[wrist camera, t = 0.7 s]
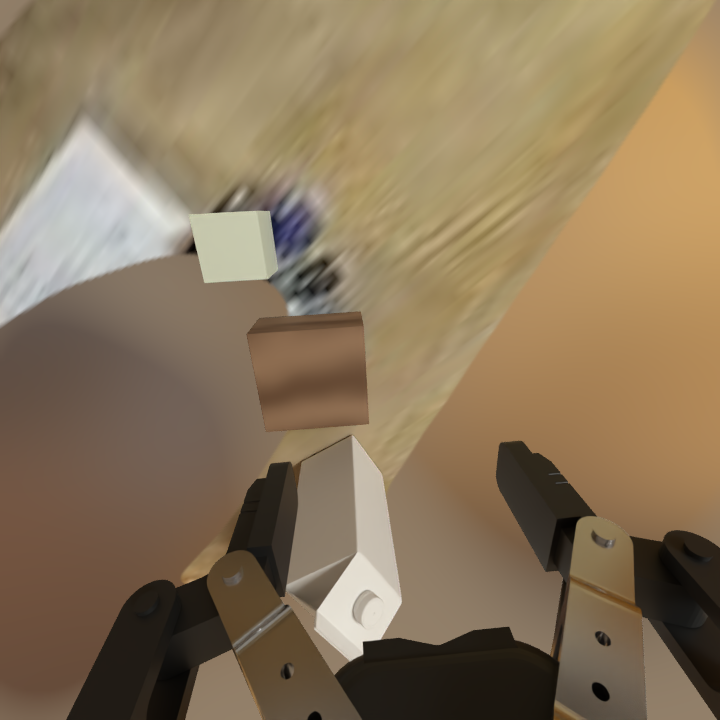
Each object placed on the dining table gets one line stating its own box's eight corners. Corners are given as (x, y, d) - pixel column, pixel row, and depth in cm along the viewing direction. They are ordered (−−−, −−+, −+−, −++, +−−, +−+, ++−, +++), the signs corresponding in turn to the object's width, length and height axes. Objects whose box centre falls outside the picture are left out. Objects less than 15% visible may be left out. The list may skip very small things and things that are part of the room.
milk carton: (333, 498, 43) (328, 692, 26) (301, 460, 40) (270, 647, 23) (382, 473, 42) (412, 659, 24) (352, 433, 39) (361, 608, 22)
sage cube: (212, 214, 30) (188, 214, 25) (269, 211, 30) (256, 210, 25) (224, 272, 32) (204, 283, 27) (278, 269, 32) (267, 279, 27)
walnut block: (259, 317, 34) (246, 334, 29) (360, 310, 34) (363, 326, 29) (275, 405, 38) (266, 431, 33) (365, 398, 38) (369, 424, 33)
